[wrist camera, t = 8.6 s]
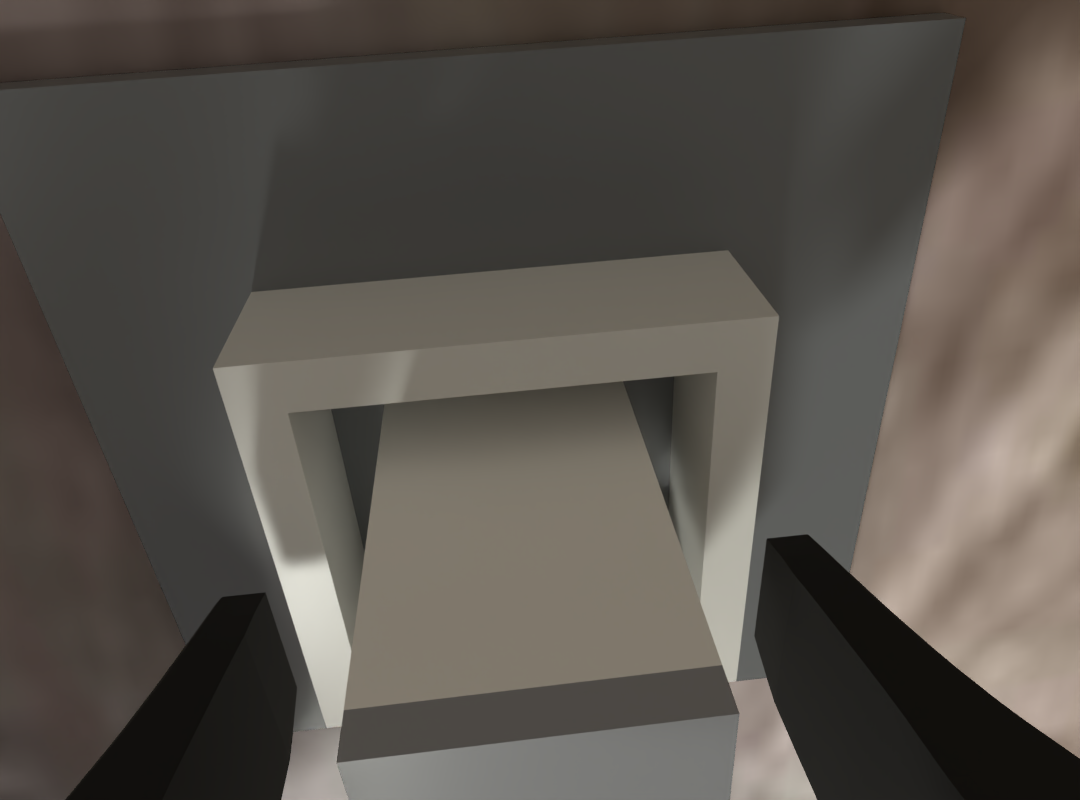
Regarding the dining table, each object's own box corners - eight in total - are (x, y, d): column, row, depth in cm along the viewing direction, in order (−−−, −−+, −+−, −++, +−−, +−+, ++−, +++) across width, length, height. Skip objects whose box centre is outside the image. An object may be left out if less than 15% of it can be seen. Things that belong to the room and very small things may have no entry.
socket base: (232, 716, 19) (198, 845, 16) (-29, 85, 11) (-169, 140, 9) (819, 650, 19) (874, 763, 17) (944, 12, 12) (1078, 44, 9)
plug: (419, 561, 16) (400, 955, 10) (386, 390, 14) (337, 762, 8) (619, 538, 16) (717, 912, 10) (617, 365, 14) (739, 713, 8)
